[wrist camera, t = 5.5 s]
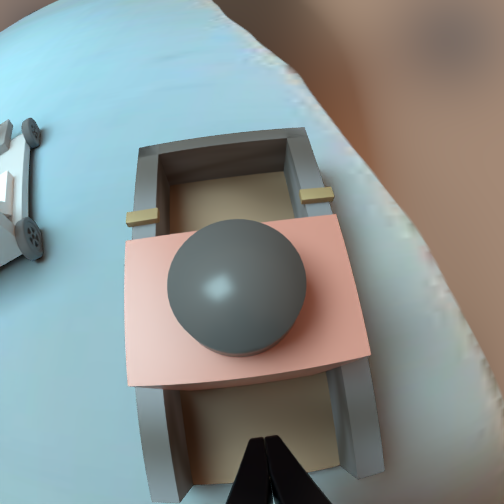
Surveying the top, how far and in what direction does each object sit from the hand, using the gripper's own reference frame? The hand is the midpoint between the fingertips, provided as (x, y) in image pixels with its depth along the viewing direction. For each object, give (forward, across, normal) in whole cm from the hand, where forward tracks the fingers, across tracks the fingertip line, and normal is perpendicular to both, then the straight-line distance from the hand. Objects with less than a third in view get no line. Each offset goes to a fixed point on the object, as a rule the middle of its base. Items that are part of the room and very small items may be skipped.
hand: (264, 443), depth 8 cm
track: (+9, 0, +1) cm, 9 cm away
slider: (+7, 0, +1) cm, 7 cm away
